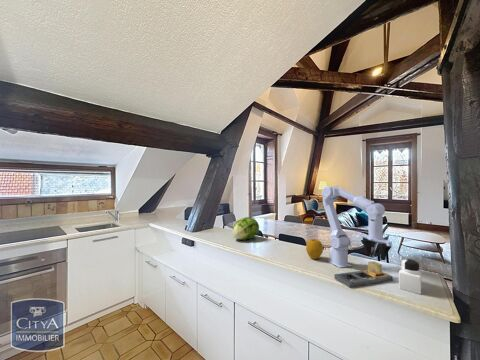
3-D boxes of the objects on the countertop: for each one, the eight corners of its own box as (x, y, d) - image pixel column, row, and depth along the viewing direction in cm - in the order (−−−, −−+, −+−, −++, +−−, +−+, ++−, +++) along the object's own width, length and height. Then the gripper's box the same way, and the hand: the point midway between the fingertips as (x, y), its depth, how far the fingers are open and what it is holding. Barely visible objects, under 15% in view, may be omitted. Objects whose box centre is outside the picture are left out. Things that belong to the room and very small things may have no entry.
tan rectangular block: (367, 276, 100) (367, 262, 100) (374, 275, 101) (374, 261, 102) (375, 280, 96) (375, 265, 97) (381, 279, 98) (381, 264, 98)
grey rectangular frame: (334, 278, 98) (334, 273, 98) (375, 272, 105) (375, 268, 105) (349, 287, 89) (349, 282, 89) (392, 280, 96) (392, 275, 96)
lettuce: (223, 229, 166) (236, 218, 155) (241, 220, 184) (254, 210, 173) (235, 249, 161) (249, 239, 150) (252, 238, 179) (266, 229, 168)
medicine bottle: (421, 288, 89) (420, 260, 90) (420, 294, 84) (420, 265, 84) (400, 283, 94) (400, 256, 94) (398, 288, 89) (398, 260, 89)
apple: (324, 262, 118) (324, 241, 119) (307, 260, 120) (307, 240, 121) (321, 256, 128) (321, 237, 128) (305, 255, 130) (305, 236, 130)
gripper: (356, 226, 105) (356, 252, 105) (383, 232, 91) (383, 263, 91) (367, 225, 107) (367, 251, 107) (395, 231, 93) (395, 261, 93)
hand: (375, 257), depth 99 cm, fingers open, 7 cm apart
